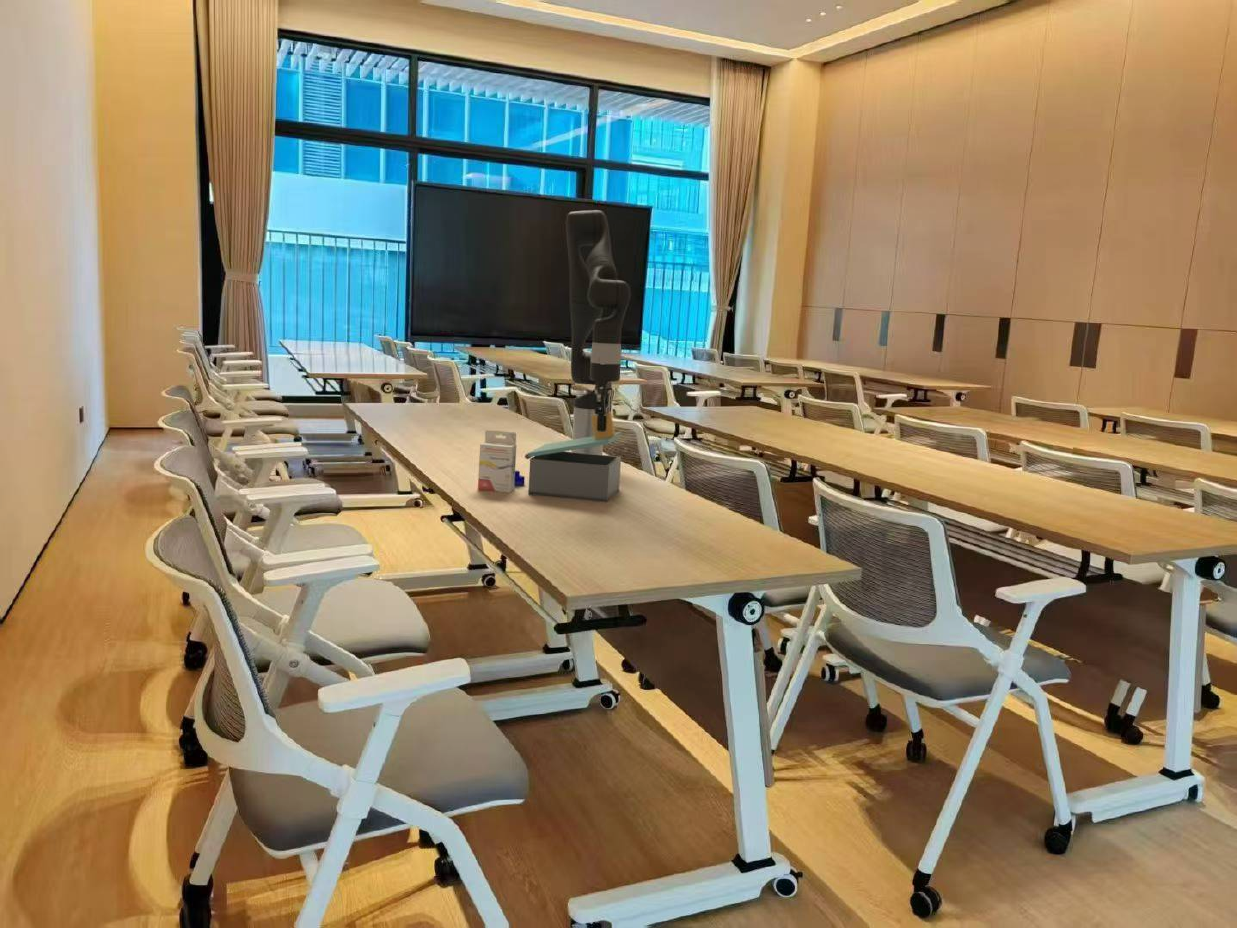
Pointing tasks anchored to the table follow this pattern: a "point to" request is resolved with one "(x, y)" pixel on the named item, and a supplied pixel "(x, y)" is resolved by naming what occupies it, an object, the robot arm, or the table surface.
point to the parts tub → (575, 476)
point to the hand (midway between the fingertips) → (602, 430)
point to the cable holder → (518, 479)
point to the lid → (581, 440)
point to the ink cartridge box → (497, 462)
